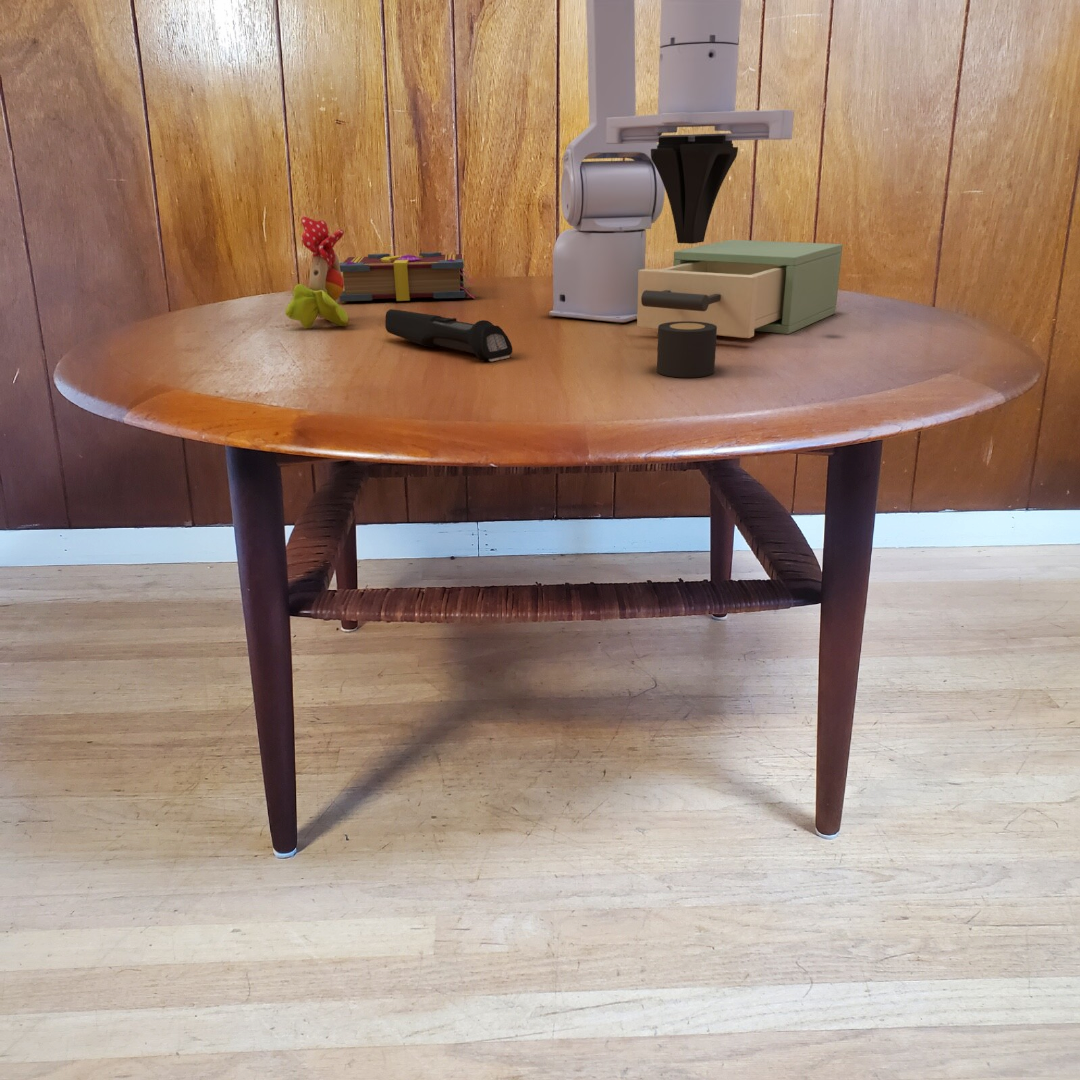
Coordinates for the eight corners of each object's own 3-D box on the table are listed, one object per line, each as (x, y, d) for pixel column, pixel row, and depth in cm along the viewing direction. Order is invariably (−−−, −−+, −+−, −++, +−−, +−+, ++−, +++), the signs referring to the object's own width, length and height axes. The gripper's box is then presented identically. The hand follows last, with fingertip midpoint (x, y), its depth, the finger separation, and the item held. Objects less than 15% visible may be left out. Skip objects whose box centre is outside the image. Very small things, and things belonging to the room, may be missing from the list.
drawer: (729, 346, 79) (733, 282, 76) (614, 334, 85) (614, 275, 83) (799, 317, 91) (804, 262, 89) (694, 308, 97) (697, 256, 95)
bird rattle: (301, 340, 101) (279, 319, 92) (300, 239, 101) (278, 208, 92) (358, 339, 101) (342, 318, 92) (357, 238, 101) (340, 208, 92)
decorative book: (350, 291, 121) (346, 251, 119) (473, 287, 122) (471, 248, 120) (340, 304, 110) (335, 261, 108) (474, 300, 111) (472, 257, 109)
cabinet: (788, 334, 88) (795, 257, 85) (670, 323, 95) (673, 251, 92) (835, 313, 98) (843, 244, 95) (726, 304, 105) (730, 239, 102)
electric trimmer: (408, 337, 91) (406, 304, 90) (516, 356, 81) (514, 319, 79) (377, 343, 88) (374, 309, 87) (484, 363, 78) (482, 326, 77)
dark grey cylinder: (646, 373, 74) (647, 328, 72) (673, 363, 77) (674, 319, 76) (698, 380, 71) (701, 333, 70) (723, 369, 75) (726, 323, 73)
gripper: (585, 51, 68) (585, 243, 73) (772, 34, 60) (757, 250, 66) (632, 57, 73) (629, 236, 79) (810, 43, 66) (793, 242, 71)
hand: (690, 242), depth 72 cm, fingers closed
